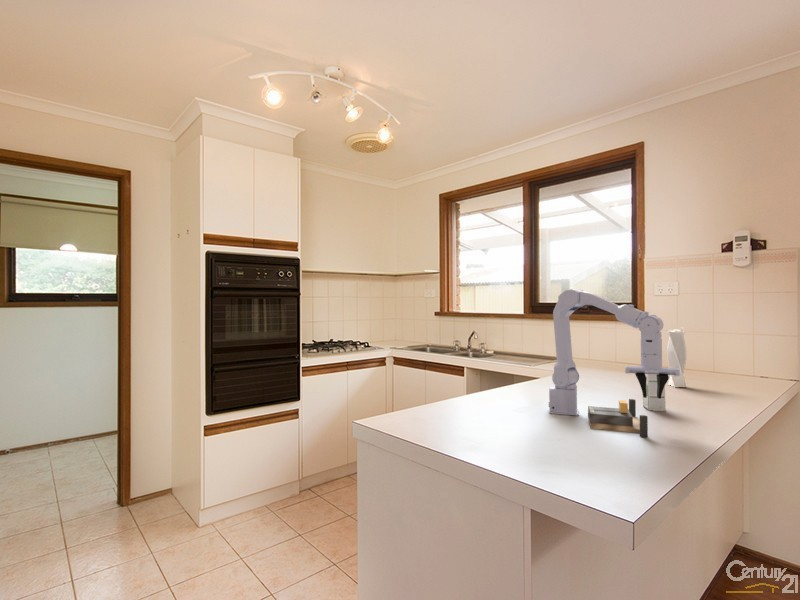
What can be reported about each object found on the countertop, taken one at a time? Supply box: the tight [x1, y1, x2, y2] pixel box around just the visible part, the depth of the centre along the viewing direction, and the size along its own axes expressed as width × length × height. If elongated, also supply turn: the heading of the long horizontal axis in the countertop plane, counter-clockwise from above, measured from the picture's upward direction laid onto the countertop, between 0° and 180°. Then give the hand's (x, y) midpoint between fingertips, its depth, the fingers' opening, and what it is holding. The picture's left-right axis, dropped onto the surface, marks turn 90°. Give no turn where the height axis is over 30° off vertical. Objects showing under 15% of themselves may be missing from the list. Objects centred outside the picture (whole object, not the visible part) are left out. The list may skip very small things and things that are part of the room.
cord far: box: [628, 398, 637, 417], centre depth 142 cm, size 2×2×6 cm
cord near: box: [639, 414, 649, 439], centre depth 121 cm, size 2×2×6 cm
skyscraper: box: [666, 326, 687, 388], centre depth 192 cm, size 8×8×28 cm
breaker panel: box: [587, 405, 640, 434], centre depth 134 cm, size 15×15×4 cm
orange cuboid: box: [618, 399, 629, 413], centre depth 133 cm, size 2×4×3 cm, turn 158°
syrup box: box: [642, 371, 667, 412], centre depth 152 cm, size 6×6×14 cm
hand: (651, 397), depth 130 cm, fingers open, 3 cm apart
